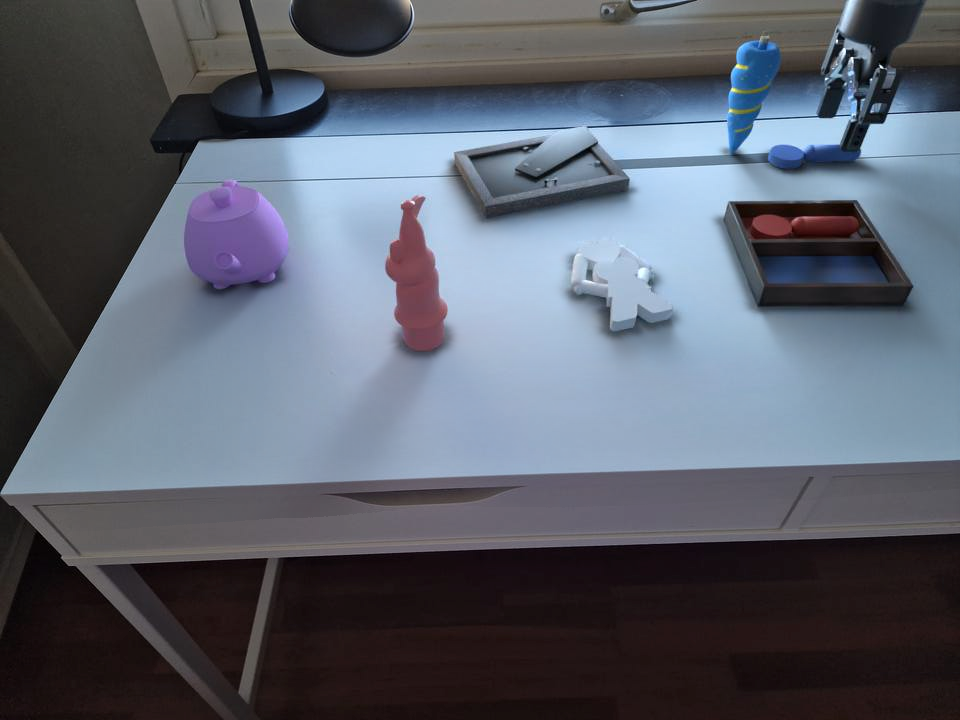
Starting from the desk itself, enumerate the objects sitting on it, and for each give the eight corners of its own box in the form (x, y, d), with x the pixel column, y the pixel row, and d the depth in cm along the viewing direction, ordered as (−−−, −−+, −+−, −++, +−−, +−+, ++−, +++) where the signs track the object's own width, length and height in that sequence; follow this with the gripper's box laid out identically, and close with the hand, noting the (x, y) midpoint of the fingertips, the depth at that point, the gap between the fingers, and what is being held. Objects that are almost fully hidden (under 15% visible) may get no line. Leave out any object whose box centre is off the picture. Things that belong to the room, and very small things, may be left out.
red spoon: (847, 223, 76) (854, 207, 74) (860, 244, 73) (867, 228, 71) (746, 223, 76) (750, 208, 75) (755, 245, 73) (760, 229, 72)
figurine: (410, 313, 68) (392, 178, 58) (458, 324, 67) (449, 188, 56) (387, 347, 65) (363, 210, 54) (437, 360, 63) (422, 222, 53)
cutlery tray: (849, 218, 77) (857, 199, 76) (903, 306, 67) (914, 286, 65) (723, 220, 78) (728, 201, 76) (757, 306, 67) (764, 287, 66)
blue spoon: (851, 152, 88) (857, 137, 86) (863, 168, 85) (869, 153, 84) (764, 153, 88) (768, 138, 87) (772, 169, 85) (777, 154, 84)
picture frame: (584, 139, 92) (454, 163, 89) (585, 125, 91) (453, 149, 87) (628, 189, 83) (485, 218, 80) (630, 175, 82) (485, 203, 78)
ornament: (709, 142, 91) (736, 22, 80) (749, 142, 90) (781, 21, 80) (717, 162, 87) (747, 39, 76) (759, 162, 87) (794, 38, 76)
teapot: (294, 226, 79) (274, 152, 73) (294, 310, 69) (271, 232, 62) (201, 239, 78) (173, 164, 72) (187, 325, 68) (152, 248, 61)
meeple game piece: (630, 241, 75) (633, 226, 73) (681, 320, 67) (686, 305, 66) (553, 257, 73) (555, 242, 71) (597, 340, 66) (600, 325, 64)
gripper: (957, 12, 67) (890, 162, 79) (899, -33, 77) (847, 106, 89) (879, 13, 68) (823, 162, 79) (831, -32, 78) (788, 106, 89)
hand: (836, 133), depth 84 cm, fingers open, 8 cm apart
